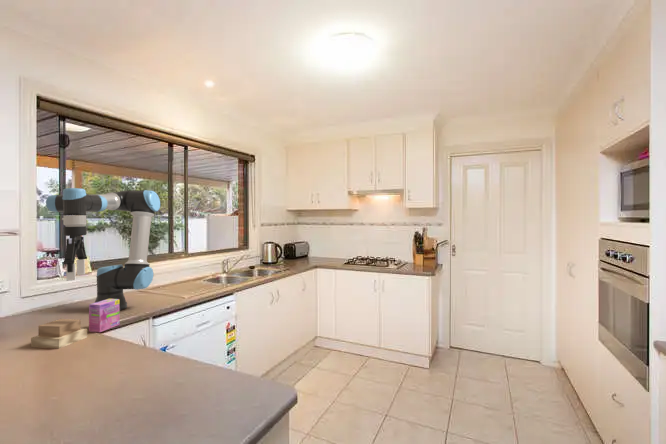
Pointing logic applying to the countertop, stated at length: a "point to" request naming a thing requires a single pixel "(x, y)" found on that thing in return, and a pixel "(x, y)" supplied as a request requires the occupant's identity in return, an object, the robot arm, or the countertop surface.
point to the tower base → (58, 340)
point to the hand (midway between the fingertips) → (76, 277)
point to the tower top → (59, 327)
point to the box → (104, 315)
